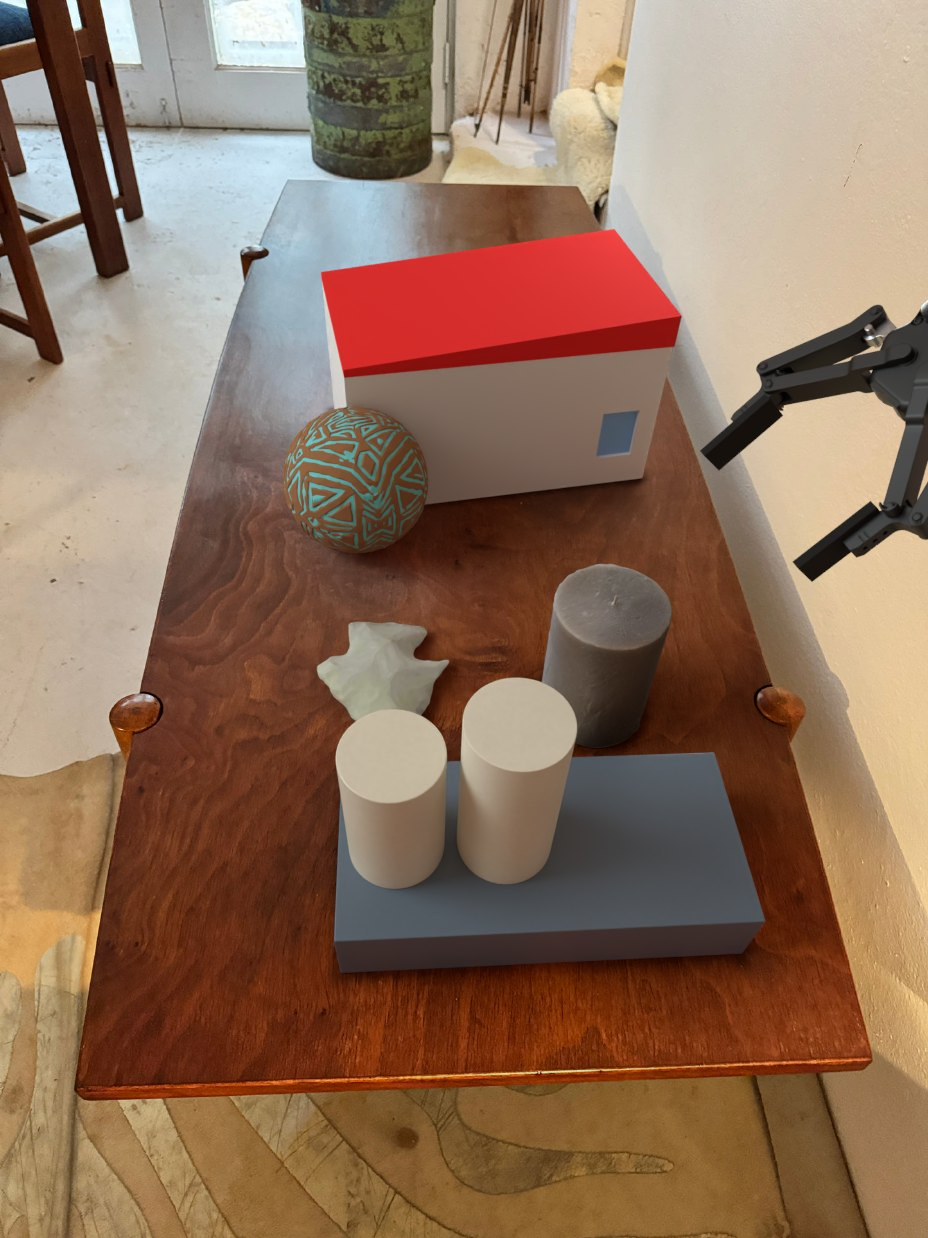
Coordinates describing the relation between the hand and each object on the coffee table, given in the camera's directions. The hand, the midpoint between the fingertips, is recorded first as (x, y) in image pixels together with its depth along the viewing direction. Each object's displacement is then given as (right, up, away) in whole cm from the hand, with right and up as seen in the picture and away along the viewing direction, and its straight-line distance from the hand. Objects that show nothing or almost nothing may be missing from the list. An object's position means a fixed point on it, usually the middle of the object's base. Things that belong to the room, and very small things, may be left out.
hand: (752, 513), depth 66 cm
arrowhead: (-30, -15, +13) cm, 36 cm away
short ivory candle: (-27, -25, -4) cm, 37 cm away
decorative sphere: (-34, +1, +28) cm, 44 cm away
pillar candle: (-11, -16, +13) cm, 24 cm away
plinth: (-17, -29, +1) cm, 33 cm away
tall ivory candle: (-20, -25, -3) cm, 32 cm away
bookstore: (-20, +14, +40) cm, 47 cm away
